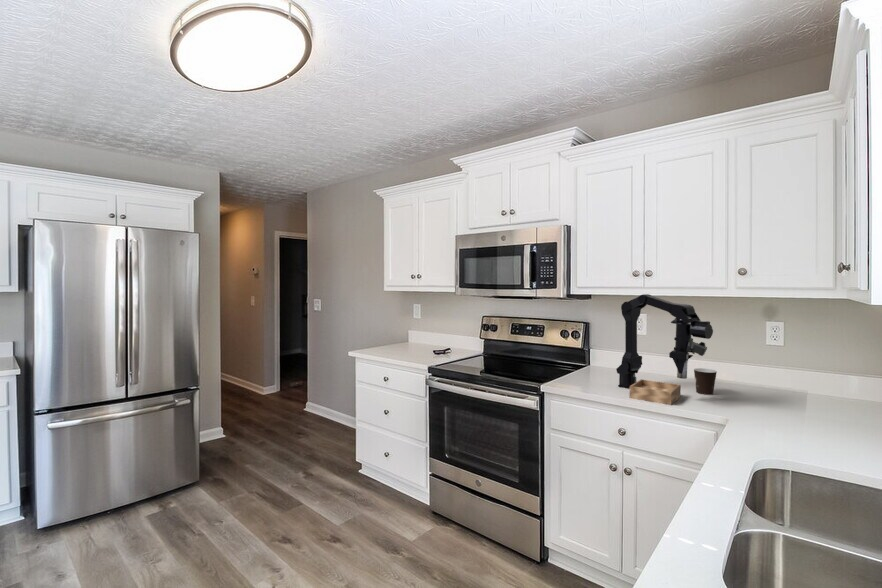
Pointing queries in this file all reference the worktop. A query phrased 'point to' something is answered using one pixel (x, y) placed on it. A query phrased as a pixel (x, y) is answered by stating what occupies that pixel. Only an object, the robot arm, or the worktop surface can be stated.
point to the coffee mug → (705, 380)
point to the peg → (684, 374)
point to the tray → (655, 391)
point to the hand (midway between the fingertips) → (681, 372)
